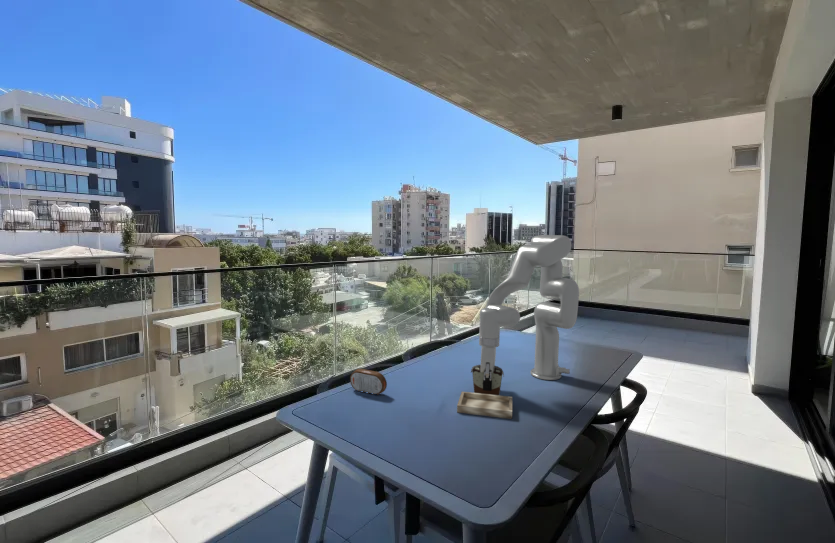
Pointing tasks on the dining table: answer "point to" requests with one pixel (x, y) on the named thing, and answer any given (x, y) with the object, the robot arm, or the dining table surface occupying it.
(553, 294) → the robot arm
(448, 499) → the dining table surface
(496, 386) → the food container
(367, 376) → the tin
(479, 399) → the holder tray
